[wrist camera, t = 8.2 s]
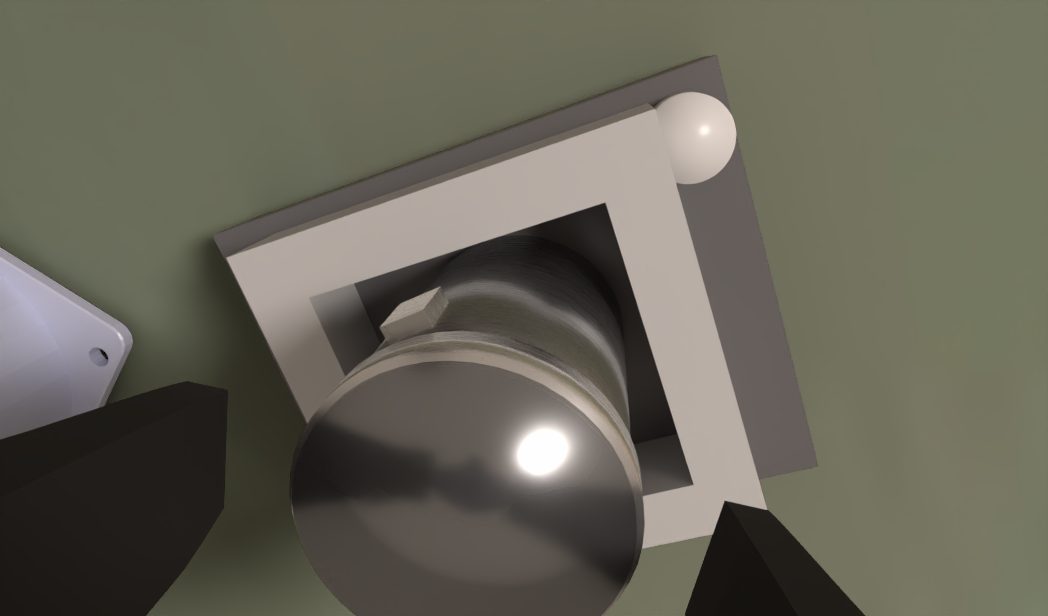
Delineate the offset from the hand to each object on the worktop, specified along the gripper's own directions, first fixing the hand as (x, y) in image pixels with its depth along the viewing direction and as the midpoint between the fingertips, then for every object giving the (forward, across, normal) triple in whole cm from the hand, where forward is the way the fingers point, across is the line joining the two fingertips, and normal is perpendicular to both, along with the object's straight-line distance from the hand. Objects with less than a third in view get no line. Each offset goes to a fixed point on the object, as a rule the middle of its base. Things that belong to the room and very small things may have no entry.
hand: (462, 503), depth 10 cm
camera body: (+7, 0, 0) cm, 7 cm away
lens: (+6, 0, 0) cm, 6 cm away
